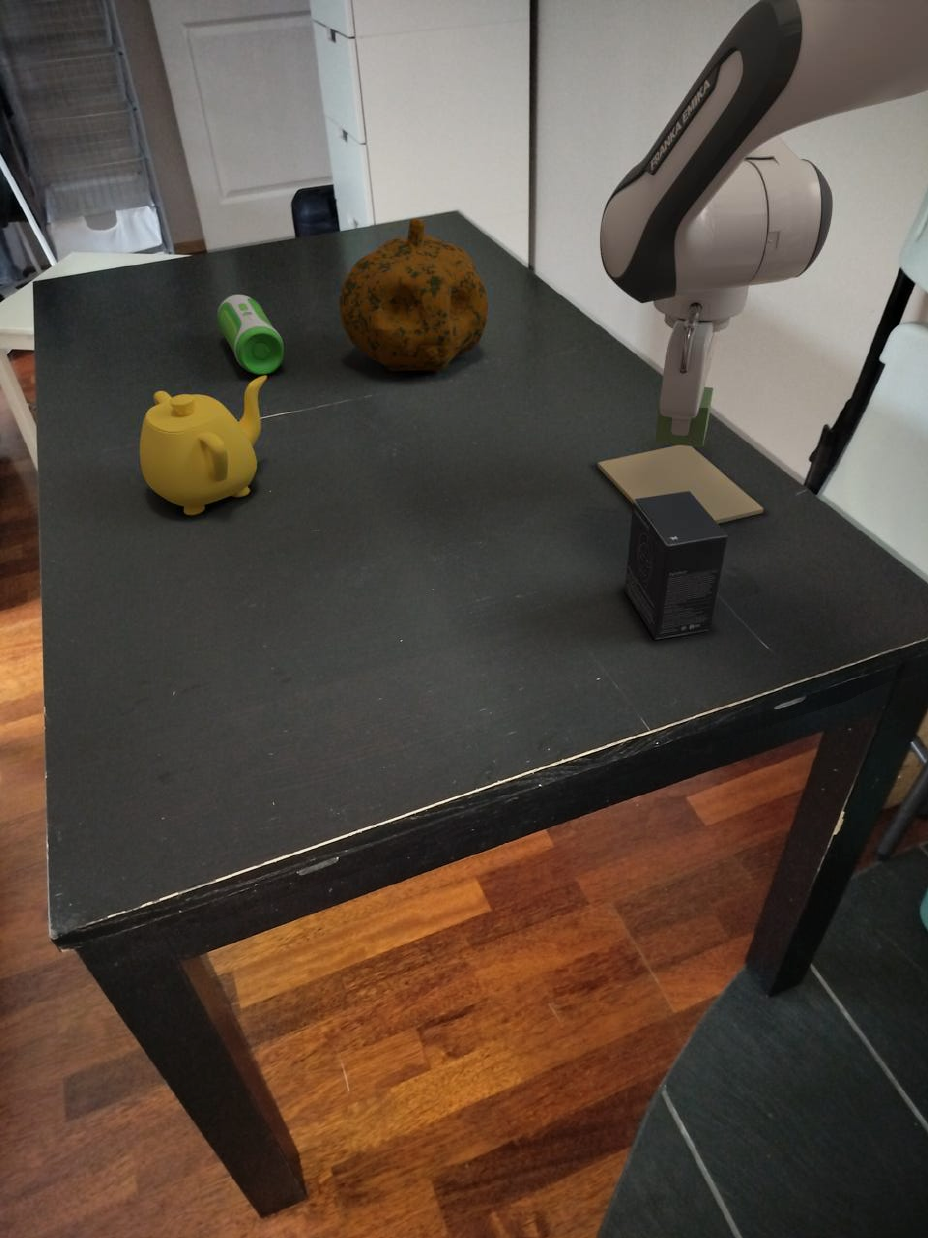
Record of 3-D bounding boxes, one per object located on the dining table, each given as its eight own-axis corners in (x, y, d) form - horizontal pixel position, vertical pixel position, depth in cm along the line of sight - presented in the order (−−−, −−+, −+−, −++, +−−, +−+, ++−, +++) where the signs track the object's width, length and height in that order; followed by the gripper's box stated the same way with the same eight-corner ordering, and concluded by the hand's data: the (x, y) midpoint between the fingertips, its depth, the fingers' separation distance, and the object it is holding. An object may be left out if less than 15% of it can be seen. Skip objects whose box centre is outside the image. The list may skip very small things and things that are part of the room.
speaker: (291, 373, 127) (282, 323, 122) (242, 383, 125) (231, 333, 120) (265, 333, 139) (256, 286, 134) (221, 342, 137) (210, 294, 133)
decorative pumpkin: (335, 336, 134) (328, 199, 121) (465, 330, 139) (472, 197, 126) (351, 395, 120) (345, 246, 107) (496, 386, 124) (508, 242, 111)
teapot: (252, 524, 96) (228, 428, 88) (131, 521, 97) (97, 427, 90) (285, 461, 106) (266, 370, 99) (175, 460, 108) (148, 370, 100)
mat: (762, 513, 93) (763, 508, 92) (663, 537, 90) (664, 532, 90) (687, 446, 105) (687, 442, 104) (597, 466, 102) (597, 462, 102)
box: (712, 631, 78) (730, 535, 72) (653, 641, 78) (666, 545, 71) (677, 580, 84) (690, 487, 78) (622, 590, 84) (631, 497, 77)
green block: (707, 425, 94) (713, 387, 91) (702, 447, 90) (708, 408, 88) (661, 421, 95) (665, 382, 92) (654, 442, 92) (659, 403, 89)
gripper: (724, 330, 75) (703, 470, 83) (743, 256, 89) (723, 381, 98) (651, 324, 76) (638, 462, 85) (681, 253, 91) (667, 376, 100)
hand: (684, 418), depth 92 cm, fingers closed on green block, 5 cm apart
